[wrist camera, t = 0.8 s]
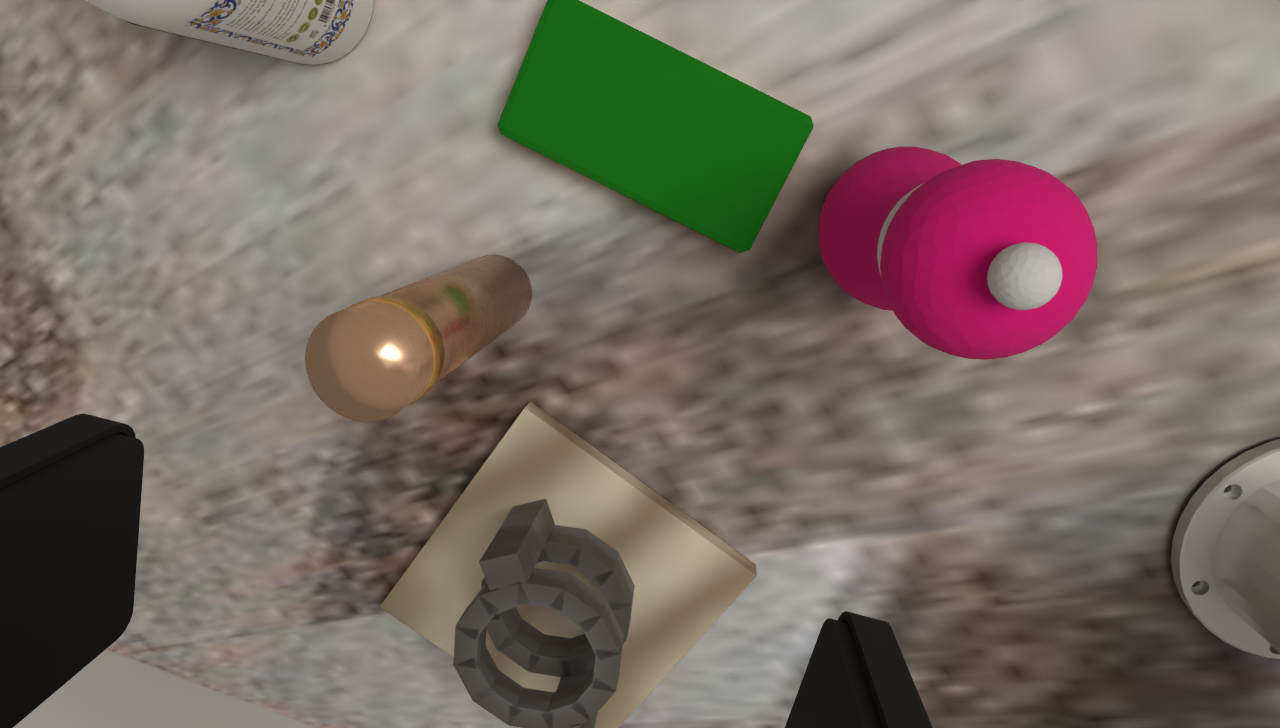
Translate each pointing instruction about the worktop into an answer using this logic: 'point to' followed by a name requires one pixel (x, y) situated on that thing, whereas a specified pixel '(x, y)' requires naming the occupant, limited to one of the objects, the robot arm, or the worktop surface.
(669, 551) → the collar stand
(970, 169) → the pepper mill
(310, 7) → the bath foam
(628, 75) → the dish sponge
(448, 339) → the tan cylinder
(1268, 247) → the worktop surface
